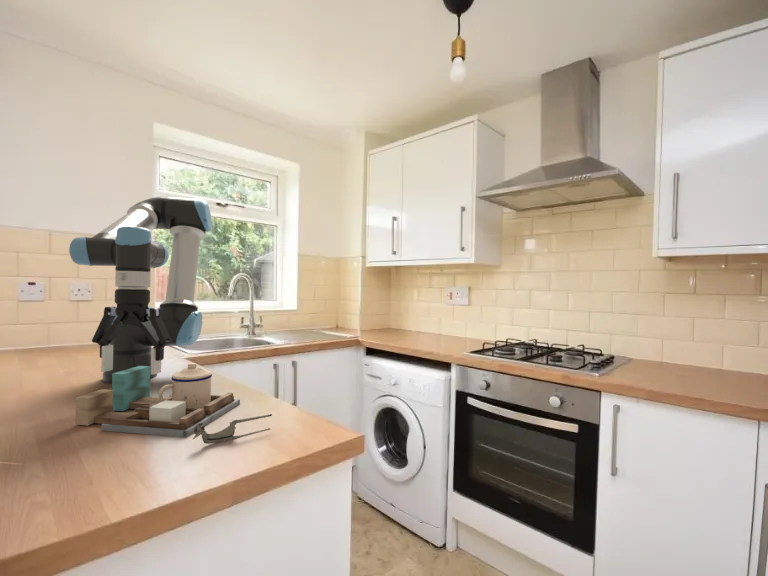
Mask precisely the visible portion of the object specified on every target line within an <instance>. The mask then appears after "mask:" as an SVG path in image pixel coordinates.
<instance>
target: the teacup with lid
mask: <svg viewBox="0 0 768 576" xmlns="http://www.w3.org/2000/svg"><path fill="white" fill-rule="evenodd" d="M212 376H213V374H212V372H211V371H210V370H207V369H205V368H203V367H200V366H198V364H197V363H196V362H192V363H187V366H186V367H184V368H183V369H181V370H179V371H176V372H174V373H173V374H172V376H171V382H172V383H168V384H164V385H163V386H162V387H160V389H159V390H158V394H157V396H158V398H159V400H160V401H161V402H163V401H164V399H163V398H164V397H163V394H164V391H165V390H168V389H169V388H172V391H171V395H172V401H184V402H186V408H192V409H198V408H200V409H204V405H206V404H208V403H210V402H211V395H212Z"/></svg>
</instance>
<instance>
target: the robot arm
mask: <svg viewBox="0 0 768 576" xmlns="http://www.w3.org/2000/svg"><path fill="white" fill-rule="evenodd" d="M209 206H210V205H209V204H208V202H207V201H206V200H205V199H204V198H203V199H202V198H201V199H200V198H194V197H192V198H189V197H188V198H187V197H174V196H157V197H156V196H155V197H151V198H147V199H144V200H142V201H139V202H137V203H136V204H134V205H132V206H130V207H129V208H128V210H127V211H126V213H125V215H123V216H121V217H120V218H118V219H117V220H116V221H114V222H113V223H111V224H109V225H108V226H107V227H105V228H103V229H102V230H101V231H99V232H98V233H97V234H94V236H92V237H87V236H84V237H83V236H81V237H75V238H73V239H72V240H71V242H70V244H69V249H68V253H69V255H70V259H71V260H72V262H73V263H75V264H76V265H80V266H82V265H83V266H89V267H92V266H93V267H94V266H96V267H97V266H98V267H99V266H100V267H115V274H114V275H115V276H114V278H115V279H114V281H115V283H114V285H115V287H117V288H116V289H115V290H114V304H116V306H105V307H104V310H103V316H102V318H101V320H100V321H99V324H98V326H97V328H96V331H95V333H94V335H93V337H92V339H91V342H92V343H93V344H98V346H99V358H100V359H101V372H102V382H103V383H107V384H112V374H113V373H116V372H120V371H123V370H127V369H130V368H134V367H137V366H150V380H151V379H154V378H156V377H157V376H158V374H160V373H162V361H163V360H164V358H165V357H164V356H165V347H175V346H176V347H183V346H186V347H187V346H193V345H194V344H196V342H197V341H198V339H199V337H200V335H201V332H202V326H203V314H202V312H201V311H199V307H198V306H197V305H196V303H195V302H194V300H195V293H196V292H195V291H196V280H197V273H198V263H199V255H200V254H199V253H200V252H199V251H200V243H201V240H203V239H204V238H205V237H206V232H210V231H212V227H213V224H212V223H213V222H212V216H211V210H210V207H209ZM159 229H160V230H169V233H170V234H171V235H172V236H173V239H172V240H173V241H172V245H171V246H172V248H171V254H170V253H169V250H168V248H167V246H165V245H164V244H163V243H162V242H159V241H158V240H153V237H152V231H153V230H159ZM170 255H171V256H170ZM169 257H170V263H169V269H168V270H169V271H168V277H167V287H166V292H165V293H166V296H165V300H164V301H163V302H161V303H160V304H159V307H152V306H149V304H150V303H151V290H150V289H148V288H150V287H151V277H152V276H151V269H155V268H156V269H157V268H160V267H163V266H164V265H165V264H166V263H167V262H168V260H169Z"/></svg>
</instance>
